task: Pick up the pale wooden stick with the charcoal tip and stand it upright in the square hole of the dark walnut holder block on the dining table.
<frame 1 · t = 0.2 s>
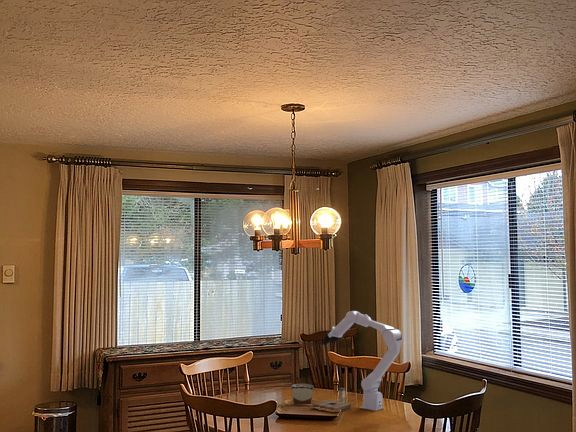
hand: (327, 342, 331), 31 cm above the table, tool tilted 45°, fingers open, 7 cm apart
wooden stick: (341, 403, 321), on the table
food container: (302, 404, 319), on the table
holder block: (331, 408, 309), on the table
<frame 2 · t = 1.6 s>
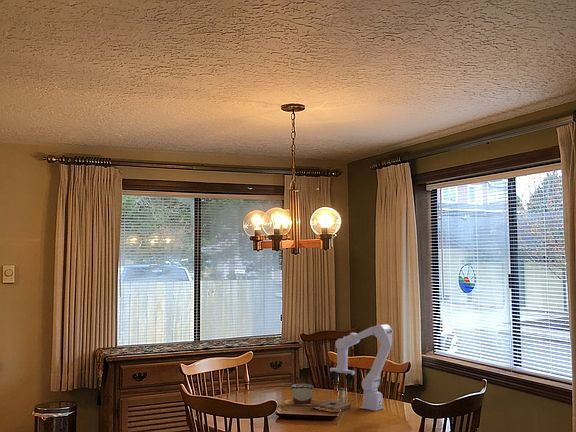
hand: (342, 386, 322), 9 cm above the table, tool pointing down, fingers open, 7 cm apart
nothing on the table moved.
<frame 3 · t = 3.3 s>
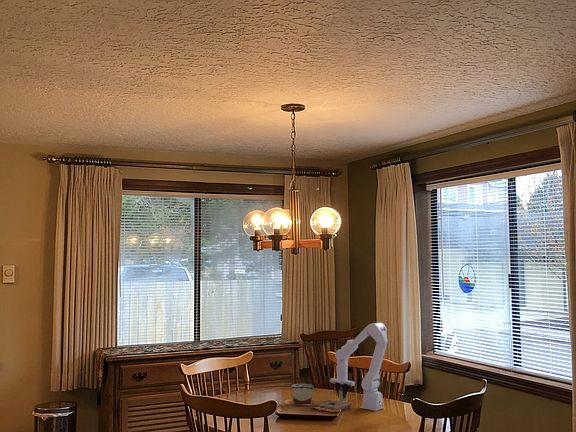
hand: (341, 397, 322), 3 cm above the table, tool pointing down, fingers closed on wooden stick, 2 cm apart
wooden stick: (341, 403, 321), on the table, touching gripper
everything else where it was.
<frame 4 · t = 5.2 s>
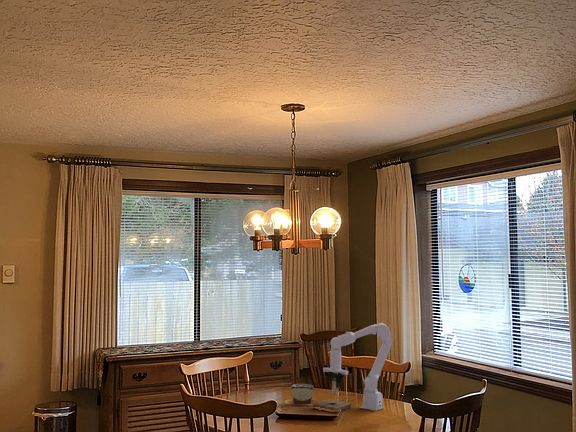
hand: (335, 387, 314), 10 cm above the table, tool pointing down, fingers closed on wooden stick, 2 cm apart
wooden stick: (335, 394, 313), point 6 cm above the table, touching gripper
everything else where it was.
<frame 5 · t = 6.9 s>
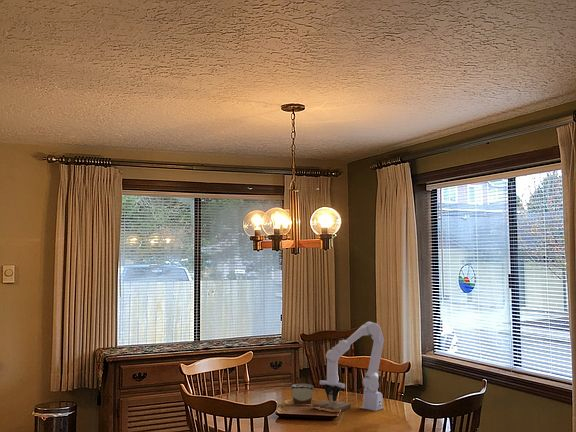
hand: (331, 400, 309), 4 cm above the table, tool pointing down, fingers closed on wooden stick, 2 cm apart
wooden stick: (331, 408, 309), resting in holder block, touching gripper
everything else where it was.
when the fingers open (4 cm above the table, at t = 7.4 s): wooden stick stays where it is, resting in holder block.
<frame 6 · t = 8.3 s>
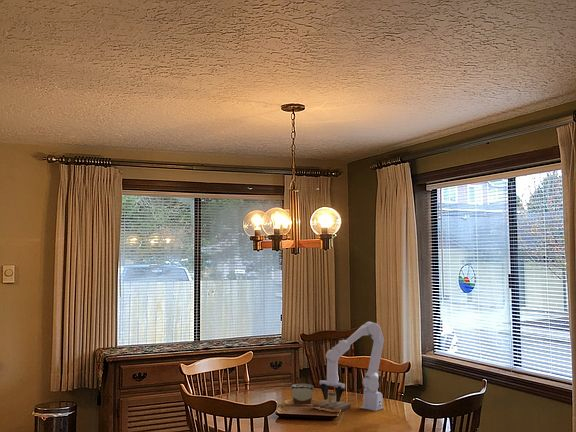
hand: (331, 400, 309), 4 cm above the table, tool pointing down, fingers open, 7 cm apart
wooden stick: (331, 408, 309), resting in holder block
everything else where it was.
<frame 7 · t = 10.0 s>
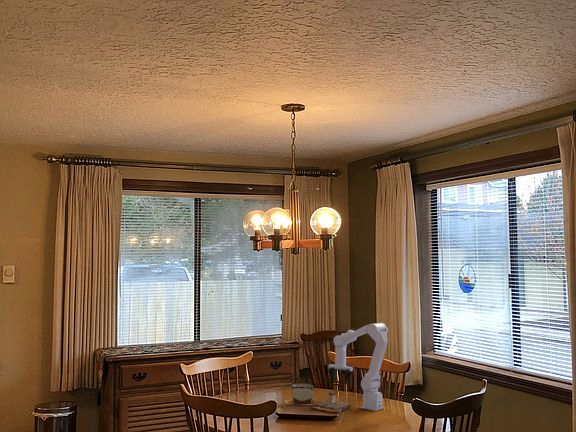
hand: (340, 383, 326), 10 cm above the table, tool pointing down, fingers open, 7 cm apart
nothing on the table moved.
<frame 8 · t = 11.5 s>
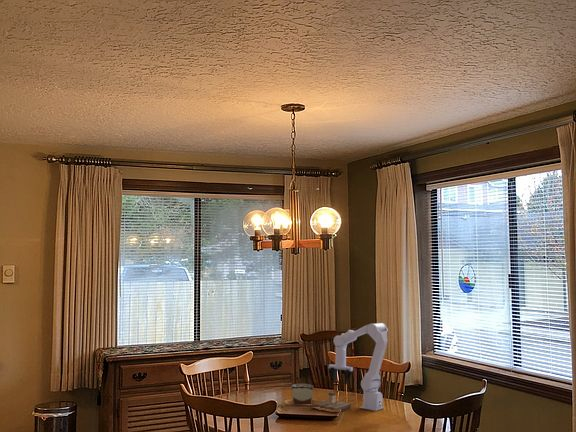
hand: (340, 383, 326), 10 cm above the table, tool pointing down, fingers open, 7 cm apart
nothing on the table moved.
at the end: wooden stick 0.0 cm off-centre on the holder block, point 0.0 cm above the holder block's base; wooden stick tilted 0°; the gripper is holding nothing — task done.
